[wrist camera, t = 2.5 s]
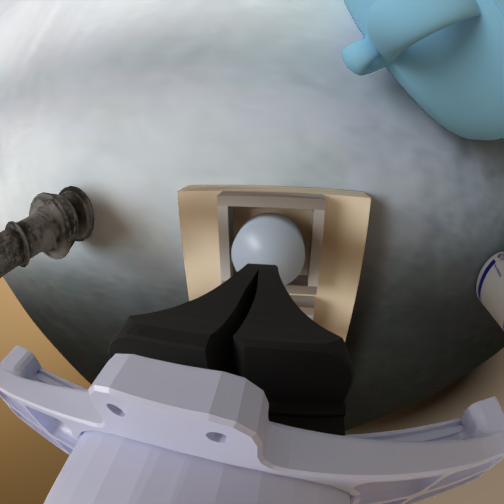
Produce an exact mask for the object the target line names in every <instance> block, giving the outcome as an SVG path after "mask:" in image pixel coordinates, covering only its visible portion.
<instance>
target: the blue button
mask: <svg viewBox="0 0 504 504" xmlns="http://www.w3.org/2000/svg"><path fill="white" fill-rule="evenodd" d="M231 256H232V262H233V265H234V267H235V269H236V271H237V272H238V271H239V270H240V269H242V268H243V267H244V266H245V265H246V264H248V263H250V264H268V265H276V266H277V267H278V272H279V275H280V278H281V280H282V282H283V284H284V286H285V285H287V284H289V283H290V282H292V281H293V280H294V279H295V278H296V277H297V276H298V275H299V274H300V272H301V270H302V268H303V265H304V262H305V247H304V239H303V235H302V233H301V231H300V229H299V227H298V226H297V225H296V224H295V223H294V222H293V221H292V220H291V219H289V218H288V217H286V216H284V215H281V214H278V213H261V214H258V215H255V216H253V217H252V218H250V219H249V220H247V221H246V222H245V223H244V224H243V226H242V227H241V229H240V231H239V232H238V234H237V236H236V238H235V240H234V242H233V245H232V250H231Z"/></svg>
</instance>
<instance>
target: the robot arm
mask: <svg viewBox="0 0 504 504" xmlns="http://www.w3.org/2000/svg"><path fill="white" fill-rule="evenodd" d="M109 355H110V358H111V359H110V360H109V361H108V362H107V364H106V365H105V366H104V368H103V369H102V371H101V372H100V374H99V375H98V376H97V378H96V379H95V381H94V382H93V384H92V385H91V387H90V388H89V389H86V388H83V387H81V386H79V385H76V384H74V383H72V382H70V381H68V380H65V379H63V378H61V377H59V376H57V375H55V374H53V373H51V372H49V371H47V370H45V369H43V368H41V366H40V363H39V362H38V360H37V359H36V357H35V356H34V354H33V353H31V352H30V351H29V350H27V349H25V348H23V347H21V346H19V345H17V346H16V347H15V348H14V349H13V350H12V351H11V352H10V353H9V354H8V355H7V356H6V357H5V358H4V359H3V360H2V361H1V362H0V396H1V398H2V399H3V400H4V401H5V403H6V404H7V405H8V406H9V407H10V409H11V410H12V411H13V412H14V413H15V415H16V416H18V417H19V418H20V419H21V420H22V421H24V422H25V423H26V424H28V425H29V426H30V427H32V428H33V429H34V430H35V431H37V432H38V433H39V434H41V435H42V436H43V437H45V438H46V439H47V440H49V441H50V442H51V443H53V444H54V445H56V446H57V447H59V448H60V449H62V450H63V451H64V452H66V453H68V454H69V455H70V456H69V458H68V459H67V461H66V463H65V465H64V467H63V468H62V470H61V472H60V474H59V476H58V477H57V479H56V481H55V483H54V485H53V486H52V488H51V490H50V492H49V494H48V496H47V498H46V500H45V502H44V504H413V503H416V502H419V501H422V500H425V499H428V498H431V497H434V496H437V495H439V494H442V493H445V492H447V491H450V490H452V489H455V488H457V487H460V486H462V485H465V484H467V483H469V482H471V481H474V480H476V479H477V478H479V477H480V476H481V475H483V474H484V473H485V472H487V471H488V470H489V469H490V468H492V467H493V466H495V465H496V464H497V463H498V462H499V461H501V460H502V459H503V458H504V414H503V411H502V409H501V407H500V404H499V402H498V400H497V398H496V397H491V398H487V399H484V400H481V401H477V402H475V403H473V404H472V405H470V406H469V407H468V408H467V409H466V410H465V411H464V413H463V414H462V416H461V417H460V418H457V419H453V420H449V421H445V422H440V423H435V424H431V425H426V426H421V427H415V428H409V429H402V430H396V431H388V432H379V433H368V434H354V435H345V430H344V416H345V413H346V408H345V401H346V398H347V396H348V394H349V391H350V389H351V386H352V383H353V379H354V368H353V363H352V360H351V357H350V354H349V351H348V349H347V347H346V344H345V342H344V340H343V338H342V337H340V336H338V335H336V334H334V333H332V332H330V331H328V330H327V329H325V328H323V327H322V326H320V325H319V324H317V323H316V322H314V321H313V320H312V319H310V318H309V317H308V316H307V315H306V314H305V313H304V312H303V311H302V310H301V309H300V308H299V307H298V306H297V305H296V303H295V302H294V301H293V299H292V298H291V296H290V295H289V293H288V292H287V290H286V288H285V286H284V284H283V282H282V280H281V278H280V275H279V272H278V267H277V266H276V265H268V264H250V263H248V264H246V265H245V266H244V267H243V268H242V269H240V270H239V271H238V272H237V273H236V274H234V275H233V276H232V277H230V278H229V279H228V280H227V281H225V282H224V283H222V284H221V285H219V286H218V287H216V288H215V289H213V290H211V291H210V292H208V293H206V294H204V295H202V296H200V297H198V298H196V299H194V300H191V301H189V302H186V303H184V304H181V305H179V306H176V307H173V308H169V309H166V310H162V311H158V312H153V313H147V314H141V315H135V316H130V317H129V318H128V319H127V320H126V321H125V323H124V324H123V325H122V326H121V328H120V329H119V330H118V331H117V333H116V334H115V335H114V337H113V338H112V339H111V341H110V343H109Z"/></svg>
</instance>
